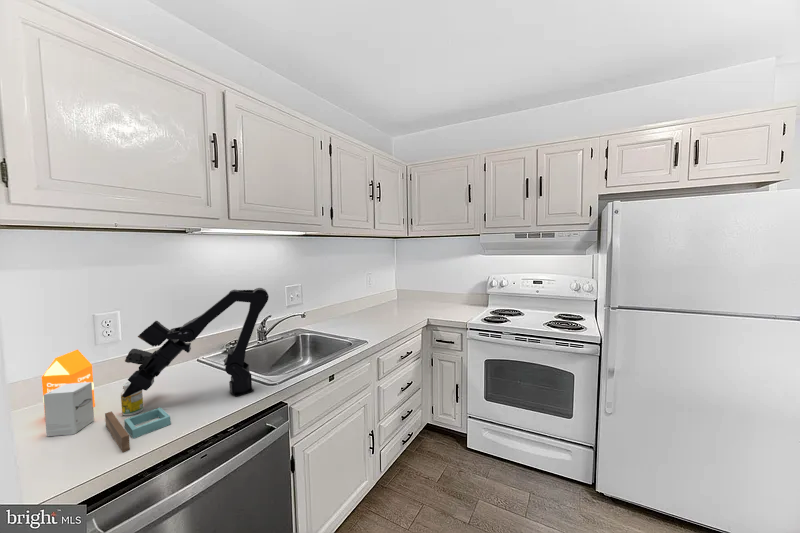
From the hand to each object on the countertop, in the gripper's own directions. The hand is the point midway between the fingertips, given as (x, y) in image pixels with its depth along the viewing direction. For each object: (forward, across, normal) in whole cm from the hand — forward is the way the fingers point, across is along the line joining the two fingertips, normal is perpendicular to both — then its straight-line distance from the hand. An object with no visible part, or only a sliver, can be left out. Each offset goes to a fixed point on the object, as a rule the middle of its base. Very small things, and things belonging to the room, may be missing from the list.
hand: (126, 393), depth 103 cm
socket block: (-1, +12, +10) cm, 16 cm away
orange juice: (+16, -7, -7) cm, 19 cm away
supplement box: (+13, +4, -4) cm, 14 cm away
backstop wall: (+3, +16, +6) cm, 17 cm away
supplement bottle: (+4, 0, +6) cm, 7 cm away
